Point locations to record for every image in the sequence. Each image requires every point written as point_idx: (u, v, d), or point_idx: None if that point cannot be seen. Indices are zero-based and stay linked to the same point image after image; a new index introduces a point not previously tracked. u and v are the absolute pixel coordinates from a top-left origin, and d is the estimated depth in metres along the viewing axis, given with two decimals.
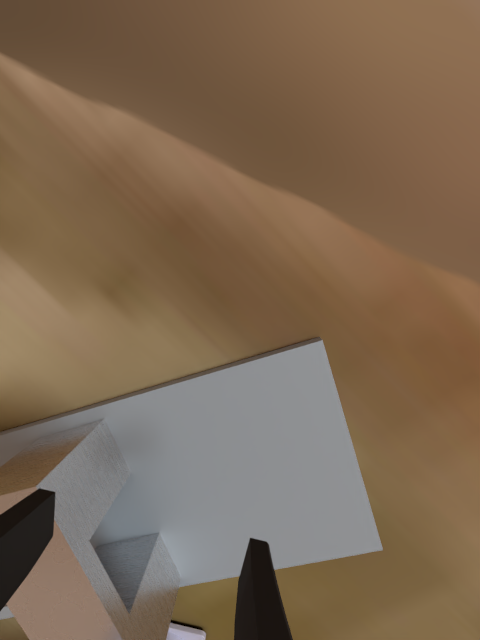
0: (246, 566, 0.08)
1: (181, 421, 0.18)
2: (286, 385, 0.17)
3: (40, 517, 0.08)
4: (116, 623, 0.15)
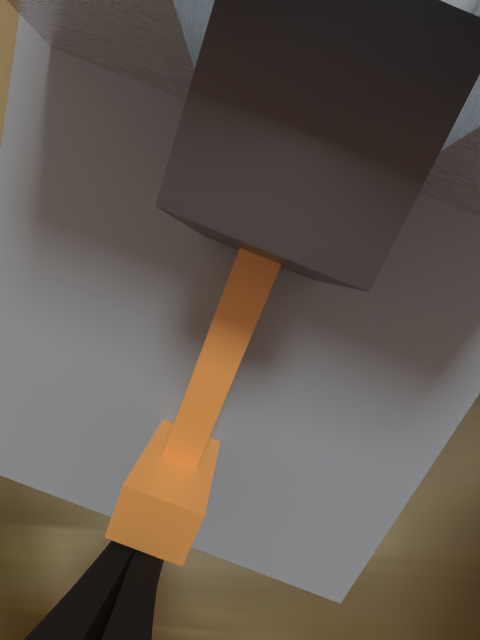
0: None
1: None
2: None
3: None
4: None
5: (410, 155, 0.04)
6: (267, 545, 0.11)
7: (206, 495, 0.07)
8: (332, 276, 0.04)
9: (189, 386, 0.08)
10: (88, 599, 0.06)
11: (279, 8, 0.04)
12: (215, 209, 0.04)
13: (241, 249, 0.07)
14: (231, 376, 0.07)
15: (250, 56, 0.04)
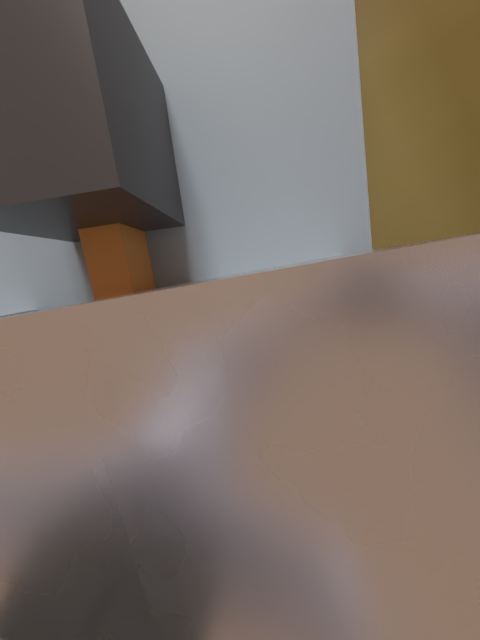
0: None
1: None
2: None
3: None
4: (1, 319, 0.03)
5: (66, 44, 0.04)
6: None
7: None
8: (81, 192, 0.04)
9: None
10: None
11: None
12: None
13: (80, 229, 0.07)
14: None
15: None
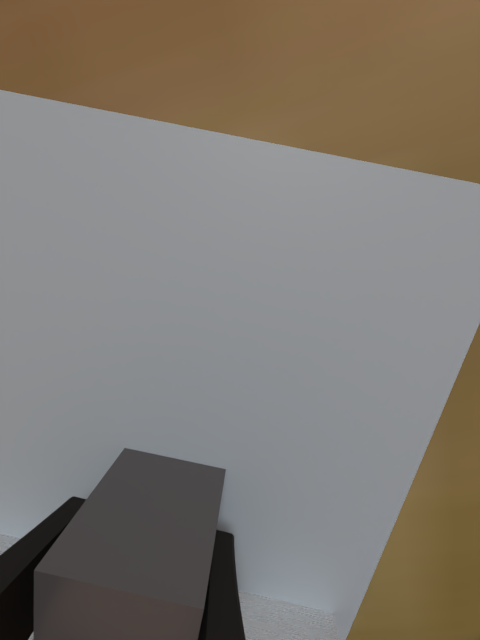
0: None
1: (19, 427, 0.10)
2: (6, 204, 0.08)
3: None
4: None
5: None
6: None
7: None
8: None
9: None
10: None
11: (71, 605, 0.06)
12: None
13: None
14: None
15: (63, 622, 0.06)
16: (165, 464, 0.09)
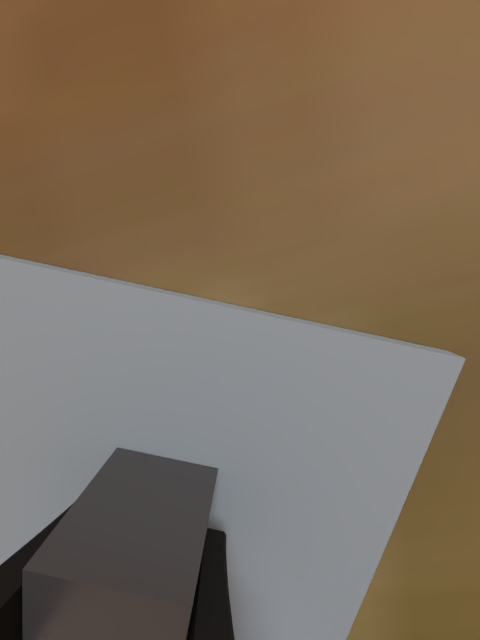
0: None
1: (19, 525, 0.11)
2: (8, 347, 0.09)
3: None
4: None
5: None
6: None
7: None
8: None
9: None
10: (8, 579, 0.06)
11: (60, 604, 0.06)
12: None
13: None
14: None
15: (52, 622, 0.06)
16: (157, 463, 0.09)
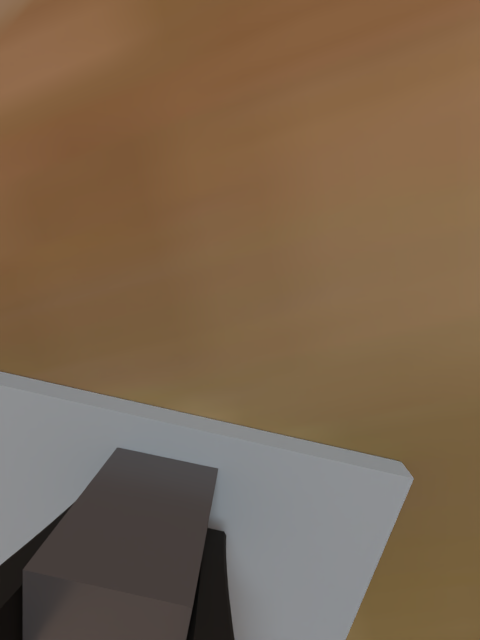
0: None
1: None
2: (6, 456, 0.10)
3: None
4: None
5: None
6: None
7: None
8: None
9: None
10: (8, 580, 0.06)
11: (60, 604, 0.06)
12: None
13: None
14: None
15: (52, 621, 0.06)
16: (157, 463, 0.09)
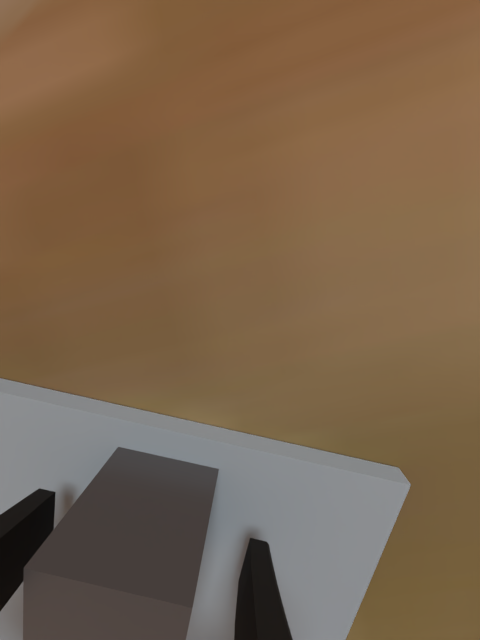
0: (246, 566, 0.08)
1: (16, 608, 0.12)
2: (5, 462, 0.10)
3: (40, 517, 0.08)
4: None
5: None
6: None
7: None
8: None
9: None
10: None
11: (60, 603, 0.06)
12: None
13: None
14: None
15: (52, 620, 0.06)
16: (158, 463, 0.09)
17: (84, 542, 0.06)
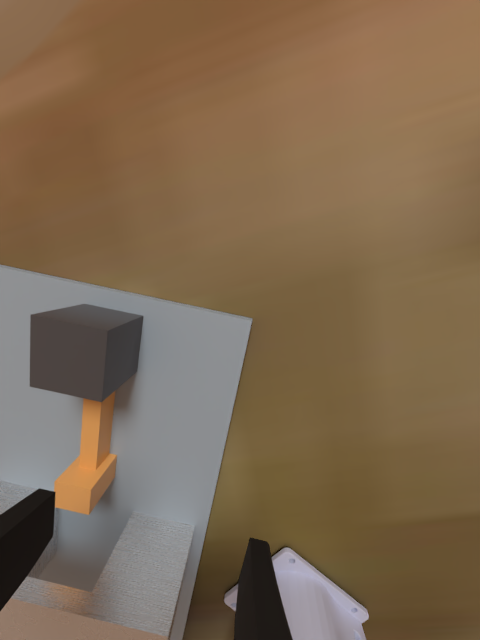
0: (246, 566, 0.08)
1: (23, 424, 0.19)
2: (18, 317, 0.17)
3: (40, 517, 0.08)
4: (67, 608, 0.14)
5: (97, 363, 0.13)
6: None
7: (95, 481, 0.16)
8: (88, 399, 0.13)
9: (82, 433, 0.17)
10: None
11: (47, 333, 0.13)
12: (47, 385, 0.13)
13: None
14: (98, 426, 0.16)
15: (44, 345, 0.13)
16: (107, 309, 0.16)
17: (59, 315, 0.13)
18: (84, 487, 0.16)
